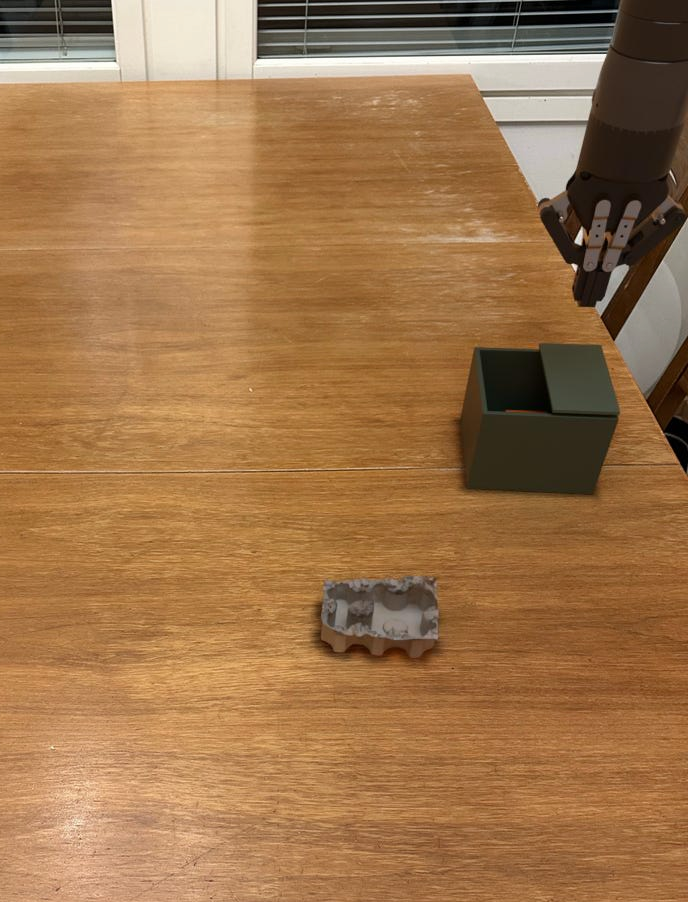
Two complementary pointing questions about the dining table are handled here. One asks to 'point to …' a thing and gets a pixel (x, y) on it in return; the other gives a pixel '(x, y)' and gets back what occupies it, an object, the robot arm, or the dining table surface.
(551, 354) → the flap
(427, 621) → the egg carton
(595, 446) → the dark green box
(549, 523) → the dining table surface
